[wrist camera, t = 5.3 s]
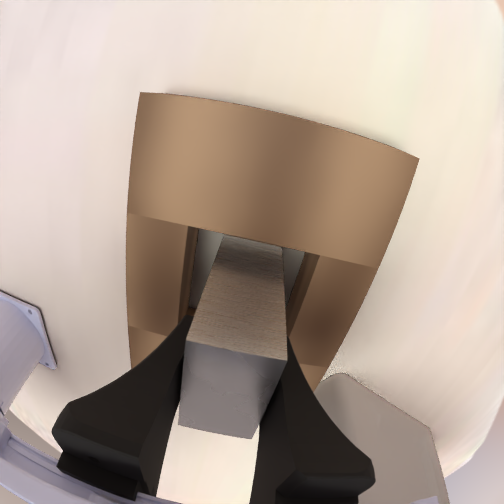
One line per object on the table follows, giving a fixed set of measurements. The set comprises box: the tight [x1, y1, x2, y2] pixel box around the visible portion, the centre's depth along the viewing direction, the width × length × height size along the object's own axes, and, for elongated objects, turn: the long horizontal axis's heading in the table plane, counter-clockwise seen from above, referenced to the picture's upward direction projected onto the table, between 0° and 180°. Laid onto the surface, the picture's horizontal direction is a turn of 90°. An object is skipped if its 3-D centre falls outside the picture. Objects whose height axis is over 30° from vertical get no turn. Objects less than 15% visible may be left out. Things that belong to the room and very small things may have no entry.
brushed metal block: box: [178, 234, 287, 439], centre depth 13 cm, size 3×5×8 cm, turn 169°
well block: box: [126, 92, 419, 393], centre depth 16 cm, size 12×18×3 cm, turn 168°
